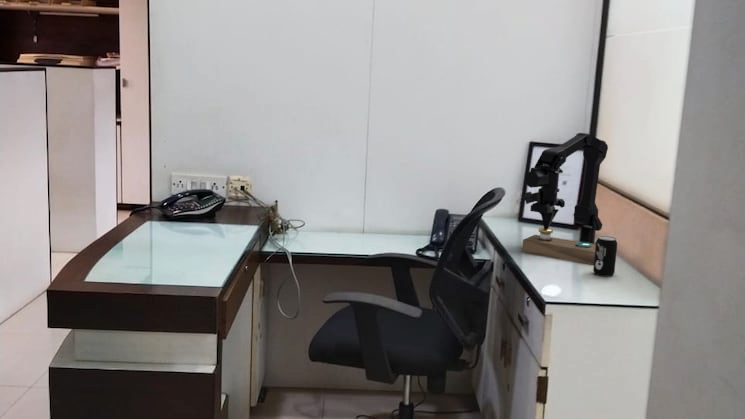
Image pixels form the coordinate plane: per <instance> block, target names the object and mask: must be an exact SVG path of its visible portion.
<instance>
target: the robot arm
mask: <svg viewBox="0 0 745 419" xmlns="http://www.w3.org/2000/svg"><path fill="white" fill-rule="evenodd" d="M580 149H582V150H583V151H582V153H583V154H582V156H583V158H584V161H585V171H584V176H583V177H584V179H583V186H582V192H581V201H580V202H579V203H578V204H575V206H574V212H573V220H574V227H575V228H579V239H578V240H577V241H578V242H588V243H591V244H596V234H597V233H596V232H598V231H599V232H600V231H601V230H602V229H603V223H602V221H601V219H600V218H599V208H598V207H597V204H596V197H597V192H598V191H597V190H598V182H599V175H600V168H601V164H602V163H603V162H604V161H605V159H606V158H607V157H606V156H607V152H608V149H609V145H608V144H607V142H606V140H602V139H599V138H597V137H595V136H593V135H592V134H590V133H585V132H579V133H576V134H575V136H574V137H572V138H570V139H568V140H566V141H565V142H563V143H561V144H560V145H558V146H555V147H549V148H546V149H544V150H543V151H542V152H541V155H539V157H538V159H537V161H536V163H535V165H534V167H530V171H528V172H527V174H526V176H525V179H524V180H525V184H526V185H527V187H529V188H532V189H533V188H538V190H537V192H533V193H532V191H527V192H525V193H524V195H523V201H525V203H526V205H528V204H531V203H532V204H531V205H530V212H534V213H539V214H540V216H541V222H542V225H543V228H544V229H548V228H550V226H551V224H552V222H553V220H554V218H555V217H556V215H557V214H558V212H559V209H557V208H556V207H559V208H561V209H562V208H565V204H566V203H565V200H564V199H563V198H558V193H559V192H560V188H559V180H560V178H559V177H560V174H563V172H564V170H563V169H561V167H562V166H563V165H564V164H565V163H566V162H567V158H568V157H570V156H572V155H573V154H575V153H576V152H577V151H580Z"/></svg>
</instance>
